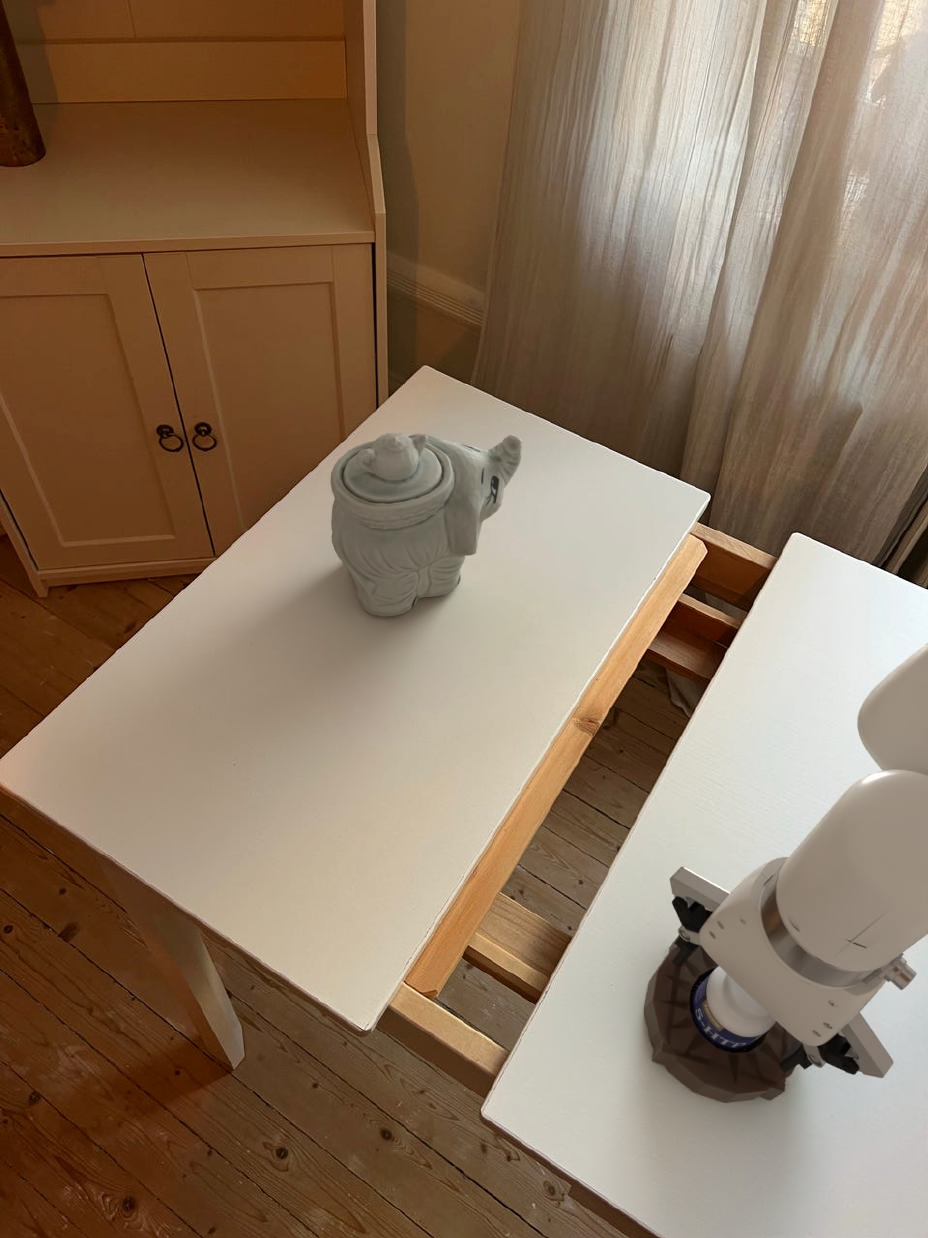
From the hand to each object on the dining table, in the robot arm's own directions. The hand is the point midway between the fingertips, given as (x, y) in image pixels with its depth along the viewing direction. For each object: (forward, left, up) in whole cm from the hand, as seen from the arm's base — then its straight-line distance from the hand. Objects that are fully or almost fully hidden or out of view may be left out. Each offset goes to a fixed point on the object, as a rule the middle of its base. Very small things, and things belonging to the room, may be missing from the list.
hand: (738, 1001), depth 70 cm
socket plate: (0, 0, -5) cm, 5 cm away
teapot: (-13, -48, -5) cm, 50 cm away
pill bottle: (0, 0, -5) cm, 5 cm away
